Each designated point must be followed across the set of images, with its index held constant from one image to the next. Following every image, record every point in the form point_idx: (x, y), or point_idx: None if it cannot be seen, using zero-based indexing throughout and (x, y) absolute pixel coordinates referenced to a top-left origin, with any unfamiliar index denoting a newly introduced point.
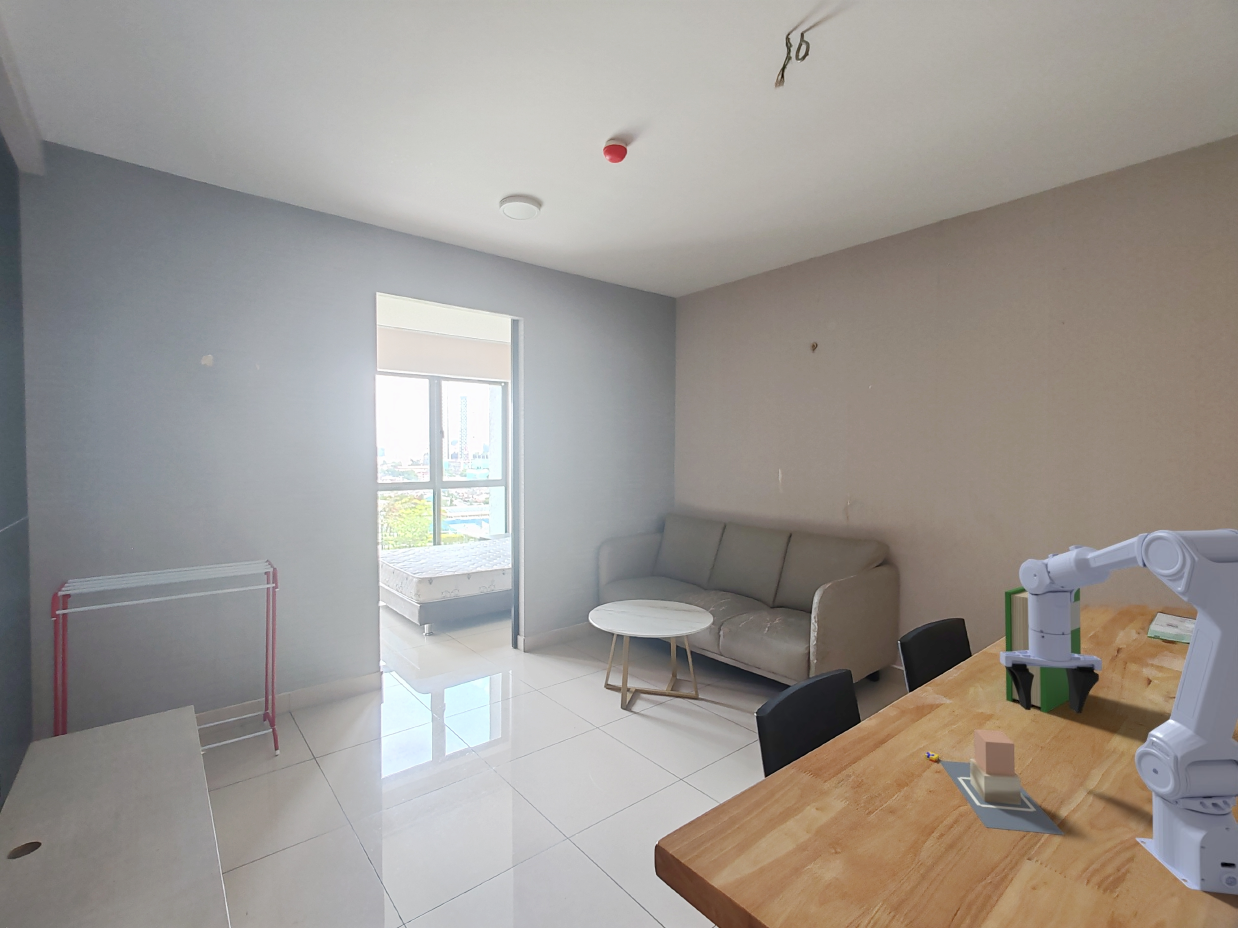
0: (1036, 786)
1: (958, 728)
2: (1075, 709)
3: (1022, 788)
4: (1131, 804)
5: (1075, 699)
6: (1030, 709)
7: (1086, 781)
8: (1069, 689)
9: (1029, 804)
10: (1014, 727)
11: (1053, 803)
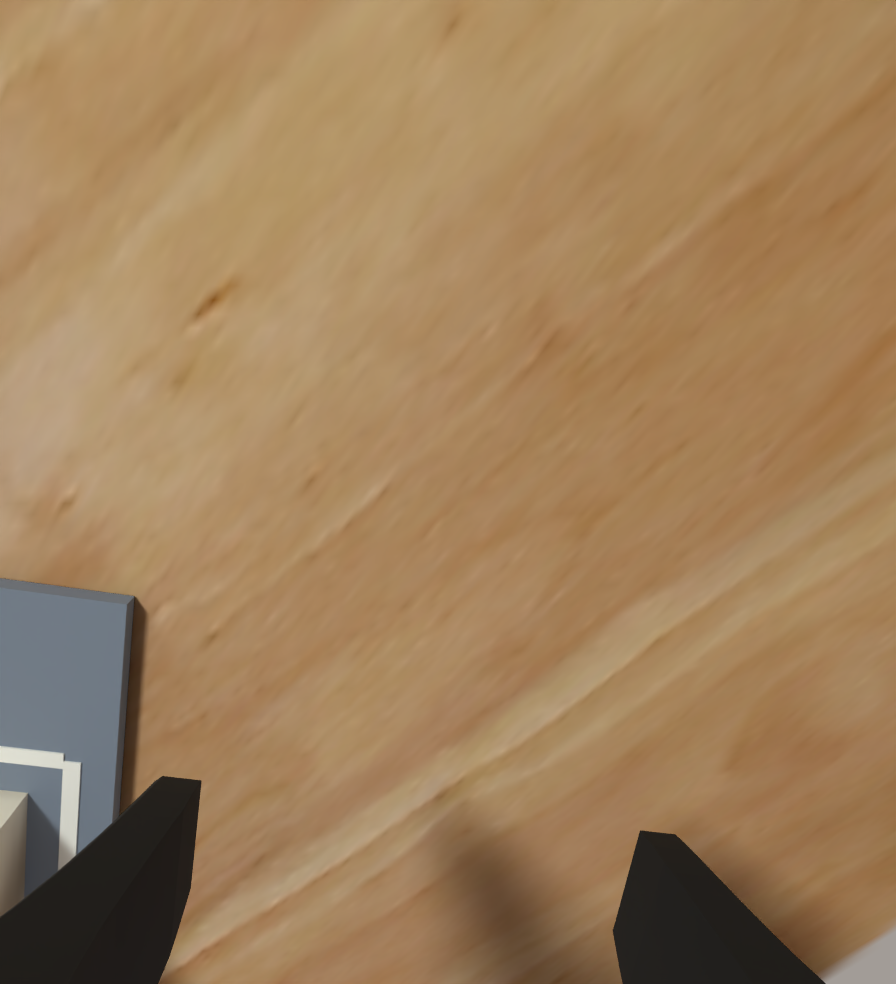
0: (222, 751)
1: (112, 37)
2: (626, 924)
3: (109, 812)
4: (567, 870)
5: None
6: (186, 895)
7: (515, 705)
8: (731, 974)
9: None
10: (569, 34)
11: (213, 873)
